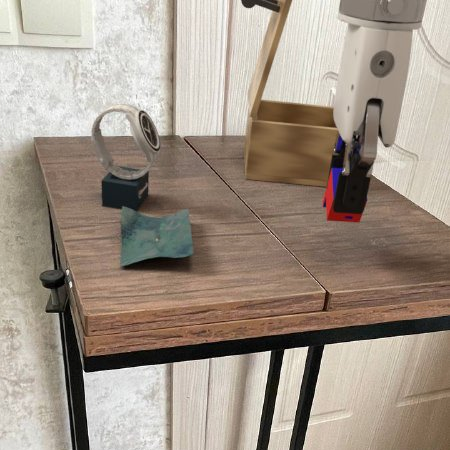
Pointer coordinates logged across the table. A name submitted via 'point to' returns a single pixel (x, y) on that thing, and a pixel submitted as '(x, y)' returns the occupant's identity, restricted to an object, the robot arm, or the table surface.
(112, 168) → the watch
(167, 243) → the terrain model
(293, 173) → the case
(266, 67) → the case lid
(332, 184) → the toy building block
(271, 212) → the table surface
